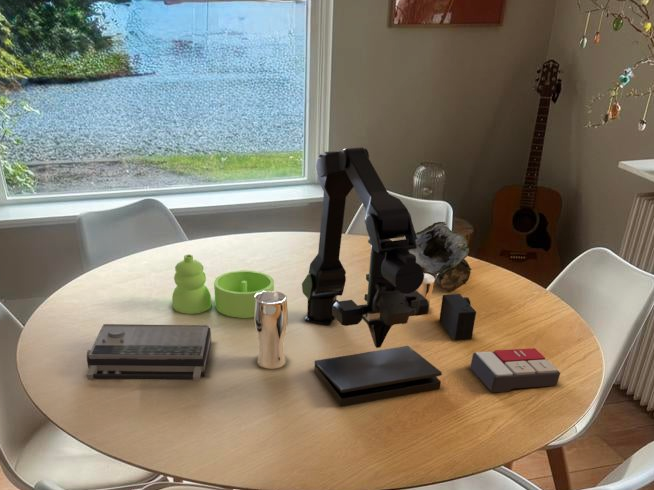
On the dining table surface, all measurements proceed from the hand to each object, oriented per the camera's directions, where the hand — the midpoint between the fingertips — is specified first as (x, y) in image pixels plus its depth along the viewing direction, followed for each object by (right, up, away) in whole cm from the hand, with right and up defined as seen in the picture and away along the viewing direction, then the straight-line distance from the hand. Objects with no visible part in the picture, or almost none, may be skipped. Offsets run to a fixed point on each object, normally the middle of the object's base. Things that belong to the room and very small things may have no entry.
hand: (377, 346), depth 148 cm
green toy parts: (-35, +16, +33) cm, 50 cm away
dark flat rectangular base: (0, -6, +4) cm, 7 cm away
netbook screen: (0, -4, +3) cm, 5 cm away
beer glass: (-22, -2, +10) cm, 24 cm away
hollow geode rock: (+21, +26, +49) cm, 59 cm away
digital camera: (+21, +8, +24) cm, 33 cm away
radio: (-48, -2, +8) cm, 49 cm away
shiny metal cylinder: (+15, +14, +33) cm, 39 cm away
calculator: (+29, -5, +6) cm, 30 cm away
